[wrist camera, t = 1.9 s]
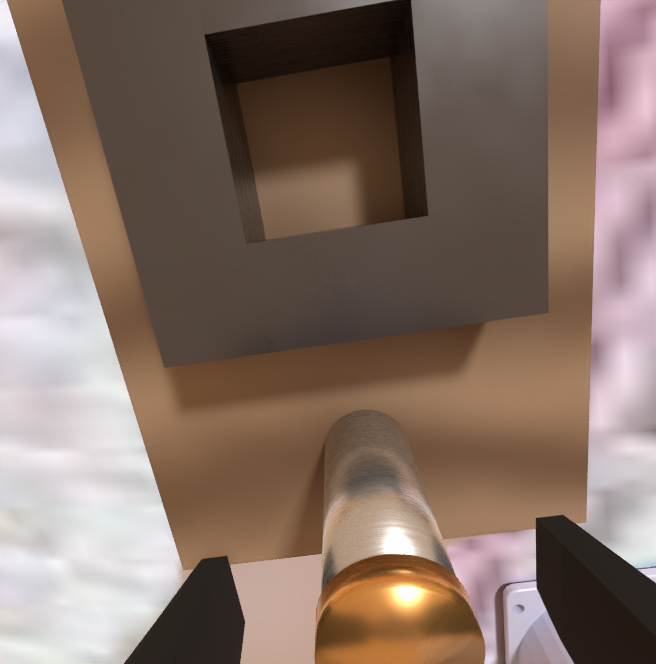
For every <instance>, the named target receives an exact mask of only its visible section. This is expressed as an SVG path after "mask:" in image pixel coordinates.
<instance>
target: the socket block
mask: <svg viewBox="0 0 656 664" xmlns="http://www.w3.org/2000/svg"><path fill="white" fill-rule="evenodd" d="M62 3H63V7H64V10H65V14H66V18H67V21H68V25H69V28H70V32H71V36H72V39H73V43H74V46H75V50H76V54H77V57H78V61H79V64H80V68H81V71H82V75H83V79H84V82H85V86H86V89H87V93H88V97H89V100H90V104H91V107H92V111H93V115H94V118H95V122H96V125H97V129H98V132H99V136H100V140H101V143H102V147H103V150H104V154H105V158H106V161H107V165H108V168H109V172H110V175H111V179H112V183H113V186H114V190H115V193H116V197H117V201H118V204H119V208H120V211H121V215H122V219H123V222H124V226H125V229H126V233H127V236H128V240H129V244H130V247H131V251H132V254H133V258H134V262H135V265H136V269H137V272H138V276H139V279H140V283H141V287H142V290H143V294H144V297H145V301H146V305H147V308H148V312H149V315H150V319H151V323H152V326H153V330H154V333H155V337H156V340H157V344H158V348H159V351H160V355H161V358H162V362H163V366H164V368H167V367H174V366H181V365H188V364H195V363H202V362H209V361H216V360H223V359H230V358H237V357H244V356H251V355H258V354H265V353H272V352H279V351H286V350H293V349H300V348H307V347H314V346H321V345H328V344H335V343H342V342H349V341H356V340H363V339H370V338H377V337H384V336H391V335H398V334H405V333H412V332H419V331H426V330H433V329H440V328H447V327H454V326H461V325H468V324H475V323H482V322H489V321H496V320H503V319H510V318H517V317H524V316H531V315H538V314H545V313H549V298H548V0H62ZM386 57H390V65H391V76H392V86H393V97H394V107H395V118H396V128H397V139H398V149H399V160H400V170H401V181H402V191H403V202H404V212H405V218H401V219H395V220H388V221H382V222H375V223H369V224H363V225H356V226H350V227H343V228H337V229H331V230H324V231H318V232H311V233H305V234H299V235H292V236H286V237H279V238H273V239H267V240H266V237H265V231H264V226H263V221H262V215H261V210H260V205H259V199H258V194H257V189H256V183H255V178H254V173H253V168H252V162H251V157H250V152H249V146H248V141H247V136H246V130H245V125H244V120H243V114H242V109H241V104H240V98H239V93H238V88H237V83H243V82H249V81H255V80H260V79H266V78H272V77H277V76H283V75H289V74H294V73H300V72H306V71H312V70H317V69H323V68H329V67H334V66H340V65H346V64H352V63H357V62H363V61H369V60H374V59H380V58H386Z"/></svg>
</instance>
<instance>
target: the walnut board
mask: <svg viewBox="0 0 656 664" xmlns="http://www.w3.org/2000/svg"><path fill="white" fill-rule="evenodd" d="M600 1H601V0H548V298H549V313H545V314H538V315H531V316H524V317H517V318H510V319H503V320H496V321H489V322H482V323H475V324H468V325H461V326H454V327H447V328H440V329H433V330H426V331H419V332H412V333H405V334H398V335H391V336H384V337H377V338H370V339H363V340H356V341H349V342H342V343H335V344H328V345H321V346H314V347H307V348H300V349H293V350H286V351H279V352H272V353H265V354H258V355H251V356H244V357H237V358H230V359H223V360H216V361H209V362H202V363H195V364H188V365H181V366H174V367H167V368H164V366H163V362H162V358H161V355H160V351H159V348H158V344H157V340H156V337H155V333H154V330H153V326H152V323H151V319H150V315H149V312H148V308H147V305H146V301H145V297H144V294H143V290H142V287H141V283H140V279H139V276H138V272H137V269H136V265H135V262H134V258H133V254H132V251H131V247H130V244H129V240H128V236H127V233H126V229H125V226H124V222H123V219H122V215H121V211H120V208H119V204H118V201H117V197H116V193H115V190H114V186H113V183H112V179H111V175H110V172H109V168H108V165H107V161H106V158H105V154H104V150H103V147H102V143H101V140H100V136H99V132H98V129H97V125H96V122H95V118H94V115H93V111H92V107H91V104H90V100H89V97H88V93H87V89H86V86H85V82H84V79H83V75H82V71H81V68H80V64H79V61H78V57H77V54H76V50H75V46H74V43H73V39H72V36H71V32H70V28H69V25H68V21H67V18H66V14H65V10H64V7H63V3H62V0H7V3H8V6H9V9H10V12H11V15H12V19H13V22H14V25H15V28H16V32H17V35H18V38H19V41H20V44H21V48H22V51H23V54H24V57H25V61H26V64H27V67H28V70H29V73H30V77H31V80H32V83H33V86H34V90H35V93H36V96H37V99H38V102H39V106H40V109H41V112H42V115H43V119H44V122H45V125H46V128H47V132H48V135H49V138H50V141H51V144H52V148H53V151H54V154H55V157H56V161H57V164H58V167H59V170H60V173H61V177H62V180H63V183H64V186H65V190H66V193H67V196H68V199H69V202H70V206H71V209H72V212H73V215H74V219H75V222H76V225H77V228H78V232H79V235H80V238H81V241H82V244H83V248H84V251H85V254H86V257H87V261H88V264H89V267H90V270H91V273H92V277H93V280H94V283H95V286H96V290H97V293H98V296H99V299H100V302H101V306H102V309H103V312H104V315H105V319H106V322H107V325H108V328H109V332H110V335H111V338H112V341H113V344H114V348H115V351H116V354H117V357H118V361H119V364H120V367H121V370H122V373H123V377H124V380H125V383H126V386H127V390H128V393H129V396H130V399H131V402H132V406H133V409H134V412H135V415H136V419H137V422H138V425H139V428H140V432H141V435H142V438H143V441H144V444H145V448H146V451H147V454H148V457H149V461H150V464H151V467H152V470H153V473H154V477H155V480H156V483H157V486H158V490H159V493H160V496H161V499H162V502H163V506H164V509H165V512H166V515H167V519H168V522H169V525H170V528H171V532H172V535H173V538H174V541H175V544H176V548H177V551H178V554H179V557H180V561H181V564H182V567H183V570H189V569H195V567H196V566H197V565H198V563H199V562H200V561H201V559H204V558H213V557H221V556H227V557H228V561H229V565H231V564H239V563H248V562H256V561H264V560H273V559H281V558H289V557H298V556H306V555H315V554H322V549H323V506H324V464H325V441H326V437H327V434H328V432H329V430H330V428H331V427H332V426H333V424H334V423H335V422H336V421H337V420H339V419H340V418H341V417H343V416H344V415H346V414H349V413H351V412H354V411H358V410H375V411H380V412H383V413H385V414H387V415H389V416H391V417H392V418H393V419H395V420H396V421H397V422H398V423H399V424H400V426H401V427H402V429H403V431H404V433H405V435H406V438H407V441H408V444H409V447H410V449H411V452H412V455H413V458H414V461H415V464H416V466H417V469H418V472H419V475H420V478H421V480H422V483H423V486H424V489H425V492H426V494H427V497H428V500H429V503H430V506H431V508H432V511H433V514H434V517H435V520H436V522H437V525H438V528H439V531H440V534H441V536H442V539H450V538H458V537H467V536H475V535H484V534H492V533H500V532H509V531H517V530H526V529H534V528H536V518H540V517H548V516H556V515H564V516H566V517H567V518H568V519H570V520H571V521H572V522H574V523H575V524H576V523H585V522H586V506H587V470H588V434H589V398H590V362H591V325H592V289H593V253H594V217H595V181H596V145H597V109H598V73H599V37H600ZM237 88H238V93H239V98H240V104H241V109H242V114H243V120H244V125H245V130H246V136H247V141H248V146H249V152H250V157H251V162H252V168H253V173H254V178H255V183H256V189H257V194H258V199H259V205H260V210H261V215H262V221H263V226H264V231H265V237H266V240H267V239H273V238H279V237H286V236H292V235H299V234H305V233H311V232H318V231H324V230H331V229H337V228H343V227H350V226H356V225H363V224H369V223H375V222H382V221H388V220H395V219H401V218H405V212H404V202H403V191H402V181H401V170H400V160H399V149H398V139H397V128H396V118H395V107H394V97H393V86H392V76H391V65H390V57H386V58H380V59H374V60H369V61H363V62H357V63H352V64H346V65H340V66H334V67H329V68H323V69H317V70H312V71H306V72H300V73H294V74H289V75H283V76H277V77H272V78H266V79H260V80H255V81H249V82H243V83H237Z"/></svg>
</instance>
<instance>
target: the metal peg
mask: <svg viewBox="0 0 656 664" xmlns="http://www.w3.org/2000/svg"><path fill="white" fill-rule="evenodd" d="M321 592H322V593H321V596H320V598H319V601H318V605H317V609H316V633H315V634H316V635H315V664H484V660H485V643H484V638H483V635H482V632H481V630H480V627H479V624H478V621H477V619H476V616H475V613H474V611H473V608H472V605H471V603H470V600H469V597H468V595H467V592H466V590H465V588H464V586H463V585H462V583H461V582H460V581H459V579H458V578H457V577H456V576H455V573H454V570H453V567H452V564H451V562H450V559H449V556H448V553H447V550H446V548H445V545H444V542H443V539H442V536H441V534H440V531H439V528H438V525H437V522H436V520H435V517H434V514H433V511H432V508H431V506H430V503H429V500H428V497H427V494H426V492H425V489H424V486H423V483H422V480H421V478H420V475H419V472H418V469H417V466H416V464H415V461H414V458H413V455H412V452H411V449H410V447H409V444H408V441H407V438H406V435H405V433H404V431H403V429H402V427H401V426H400V424H399V423H398V422H397V421H396V420H395V419H393V418H392V417H391V416H389V415H387V414H385V413H383V412H380V411H375V410H358V411H354V412H351V413H349V414H346V415H344V416H343V417H341V418H340V419H339V420H337V421H336V422H335V423H334V424H333V426H332V427H331V428H330V430H329V432H328V434H327V437H326V441H325V464H324V506H323V549H322V591H321Z"/></svg>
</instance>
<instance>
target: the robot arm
mask: <svg viewBox="0 0 656 664" xmlns="http://www.w3.org/2000/svg"><path fill="white" fill-rule="evenodd" d="M503 610H504V634H505V657H506V664H656V568H647V569H638V570H637V569H636V568H635V567H633V566H632V565H630V564H629V563H628V562H626V561H625V560H624V559H622V558H621V557H620V556H618V555H617V554H616V553H614V552H613V551H611V550H610V549H609V548H607V547H606V546H605V545H603V544H602V543H601V542H599V541H598V540H597V539H595V538H594V537H593V536H591V535H590V534H589V533H587V532H586V531H585V530H583V529H582V528H581V527H579V526H578V525H577V524H575V523H574V522H572V521H571V520H570V519H568V518H567V517H566V516H564V515H556V516H548V517H540V518H536V581H532V582H523V583H514V584H510V585H508V586H507V587H506V588H505V589H504V591H503ZM244 626H245V620H244V616H243V612H242V609H241V605H240V601H239V598H238V594H237V590H236V587H235V583H234V580H233V576H232V572H231V568H230V565H229V561H228V557H227V556H221V557H213V558H204V559H201V561H200V562H199V563H198V565H197V566H196V567H195V569H194V570H193V571H192V573H191V574H190V575H189V577H188V578H187V580H186V581H185V582H184V584H183V585H182V586H181V588H180V589H179V590H178V592H177V593H176V595H175V596H174V597H173V599H172V600H171V602H170V603H169V604H168V606H167V607H166V608H165V610H164V611H163V612H162V614H161V615H160V617H159V618H158V619H157V621H156V622H155V623H154V625H153V626H152V627H151V629H150V630H149V631H148V632H147V634H146V635H145V636H144V638H143V639H142V640H141V642H140V643H139V644H138V646H137V647H136V648H135V650H134V651H133V652H132V654H131V655H130V656H129V657H128V659H127V660H126V661H125V663H124V664H240V659H241V651H242V643H243V635H244Z"/></svg>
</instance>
